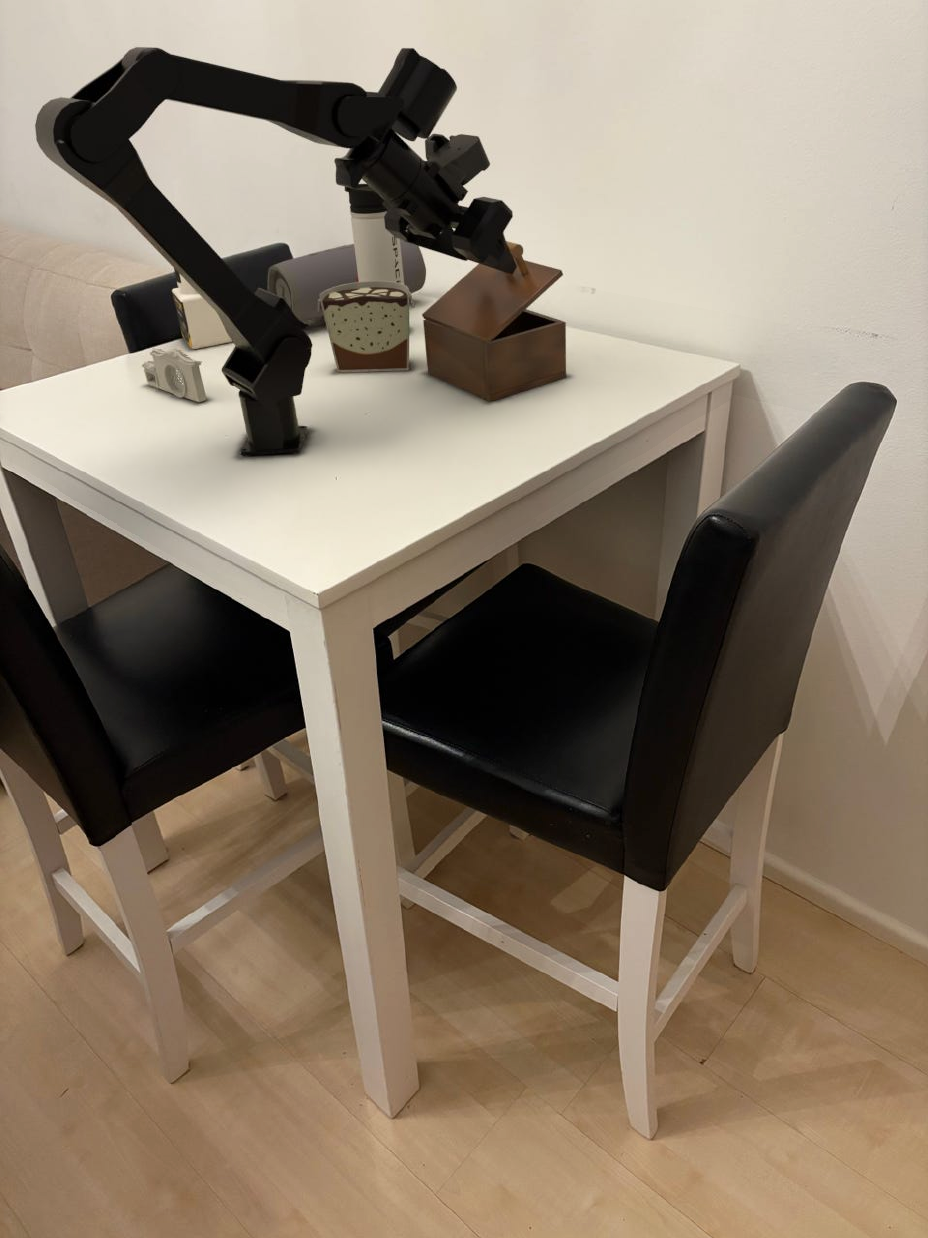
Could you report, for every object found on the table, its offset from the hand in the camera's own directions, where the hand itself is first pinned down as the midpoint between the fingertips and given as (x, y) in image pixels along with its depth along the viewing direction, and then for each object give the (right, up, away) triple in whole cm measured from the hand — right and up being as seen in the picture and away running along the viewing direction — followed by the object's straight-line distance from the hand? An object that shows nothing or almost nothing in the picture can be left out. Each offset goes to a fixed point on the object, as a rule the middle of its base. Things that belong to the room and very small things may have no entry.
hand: (490, 263), depth 114 cm
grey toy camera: (-40, -13, +10) cm, 43 cm away
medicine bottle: (-40, -1, +28) cm, 49 cm away
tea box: (+1, -11, +7) cm, 14 cm away
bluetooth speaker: (-20, +4, +34) cm, 39 cm away
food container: (-15, -8, +14) cm, 22 cm away
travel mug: (-14, -1, +25) cm, 29 cm away
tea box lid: (0, -3, +2) cm, 4 cm away
